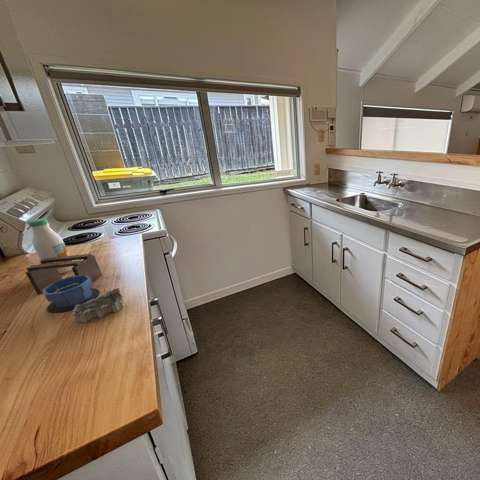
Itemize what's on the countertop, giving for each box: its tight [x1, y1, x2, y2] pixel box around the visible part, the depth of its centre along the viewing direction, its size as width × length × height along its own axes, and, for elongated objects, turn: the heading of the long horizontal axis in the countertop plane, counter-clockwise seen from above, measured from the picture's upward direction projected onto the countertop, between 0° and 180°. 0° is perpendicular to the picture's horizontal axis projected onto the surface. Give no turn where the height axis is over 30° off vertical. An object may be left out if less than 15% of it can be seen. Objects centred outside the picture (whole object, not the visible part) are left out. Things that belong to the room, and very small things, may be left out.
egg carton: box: [71, 288, 124, 324], centre depth 72 cm, size 11×8×4 cm
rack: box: [25, 253, 103, 295], centre depth 85 cm, size 14×9×9 cm, turn 99°
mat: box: [46, 287, 100, 314], centre depth 78 cm, size 12×12×1 cm
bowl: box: [42, 275, 94, 308], centre depth 77 cm, size 10×10×6 cm
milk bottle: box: [27, 218, 74, 275], centre depth 93 cm, size 8×8×20 cm
